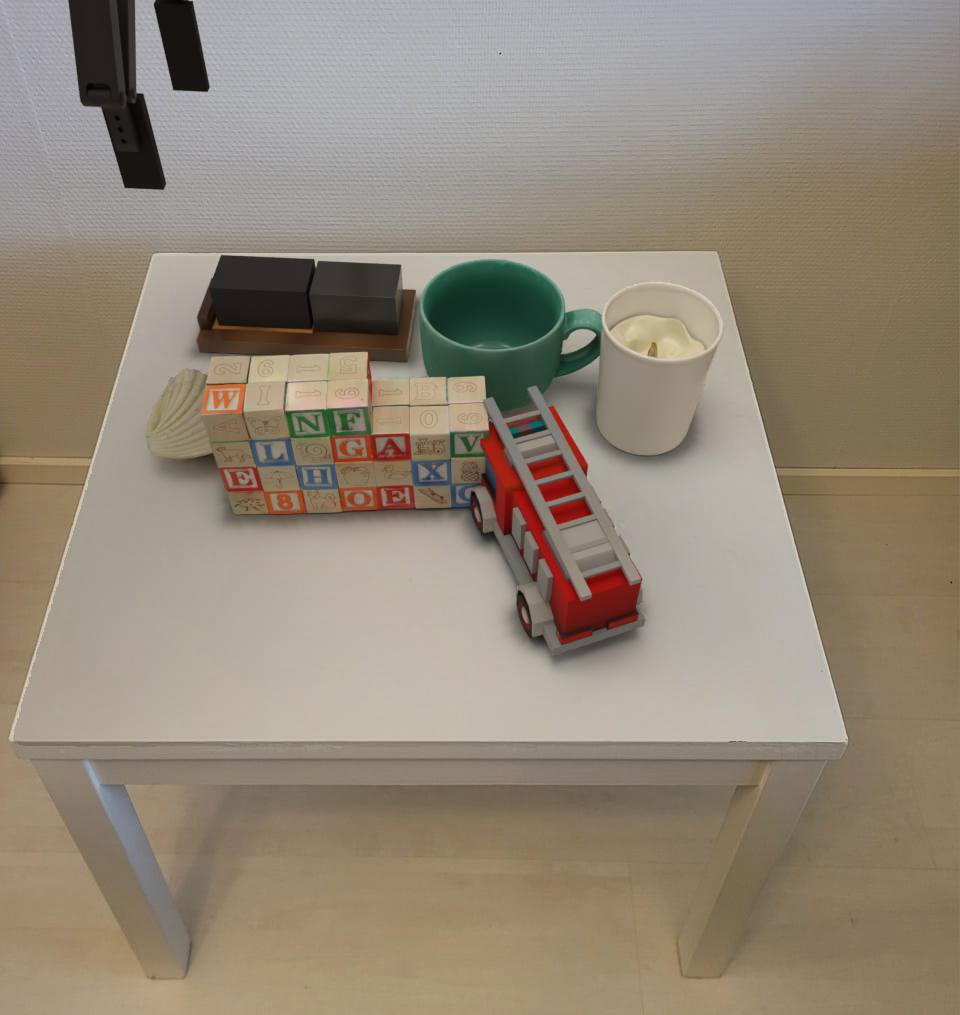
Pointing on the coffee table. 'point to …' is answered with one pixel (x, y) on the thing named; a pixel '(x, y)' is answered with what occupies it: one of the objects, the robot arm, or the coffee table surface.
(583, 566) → the toy fire truck
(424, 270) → the coffee table surface
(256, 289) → the black block
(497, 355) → the mug
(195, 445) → the seashell
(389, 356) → the brown wooden tray
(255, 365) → the stack of blocks
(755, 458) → the coffee table surface
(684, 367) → the candle holder
